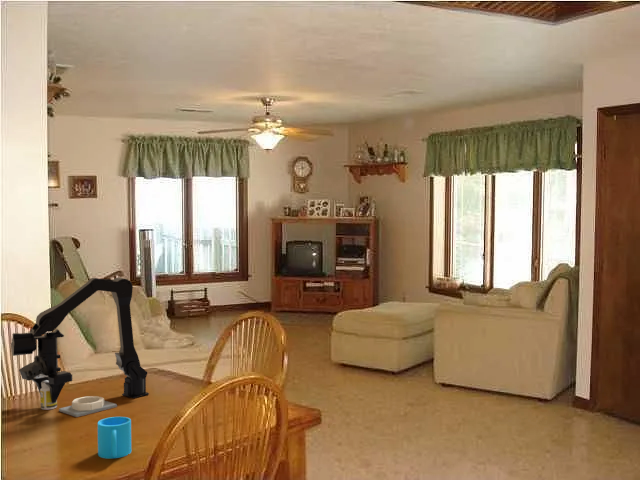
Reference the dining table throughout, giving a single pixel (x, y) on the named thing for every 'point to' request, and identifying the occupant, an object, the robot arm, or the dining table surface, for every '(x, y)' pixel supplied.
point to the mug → (114, 437)
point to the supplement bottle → (46, 397)
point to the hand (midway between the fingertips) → (48, 401)
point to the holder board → (80, 413)
